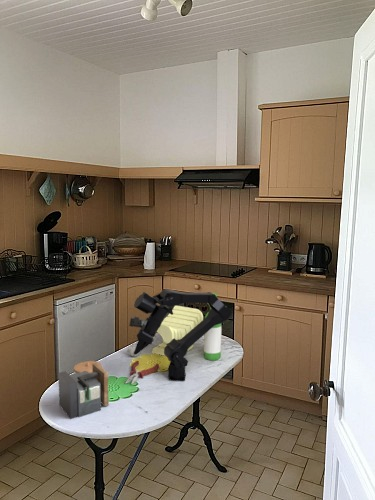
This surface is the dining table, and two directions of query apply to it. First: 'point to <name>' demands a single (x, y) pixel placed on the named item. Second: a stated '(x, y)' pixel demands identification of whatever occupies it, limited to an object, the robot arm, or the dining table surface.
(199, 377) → the dining table surface
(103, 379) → the wooden slab
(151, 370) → the pliers
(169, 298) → the robot arm
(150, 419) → the dining table surface
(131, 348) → the garlic
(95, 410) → the grey notched block
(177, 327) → the slatted curved stool
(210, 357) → the wine bottle
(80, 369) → the lidded jar
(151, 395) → the dining table surface
